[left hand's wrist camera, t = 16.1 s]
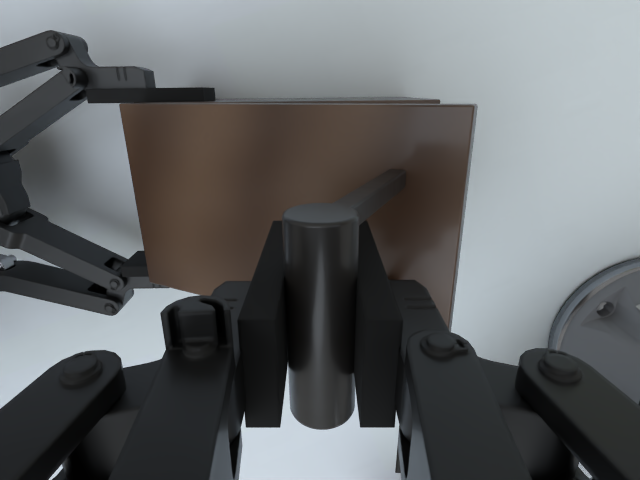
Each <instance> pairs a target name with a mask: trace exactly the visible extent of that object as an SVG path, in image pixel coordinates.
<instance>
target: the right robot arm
mask: <svg viewBox="0 0 640 480" xmlns="http://www.w3.org/2000/svg"><path fill="white" fill-rule="evenodd" d="M58 66H59V67H58ZM56 67H57V69H58V70H62V71H60V72H59V73H58V74H56V75H55V76H54V77H52V78H51V79H50V80H48V81H47V82H46V83H44V84H43V85H42V86H40V87H39V88H38V89H36V90H35V91H33V92H32V93H31V94H29V95H28V96H27V97H25V98H24V99H23V100H21V101H20V102H19V103H17V104H16V105H15V106H13V107H12V108H10V109H9V110H8V111H6V112H5V113H4V114H2V115H1V116H0V245H1V246H3V247H5V248H9V249H21V250H23V251H26V252H28V253H30V254H32V255H34V256H37V257H39V258H41V259H43V260H45V261H48V262H50V263H52V264H54V265H56V266H59V267H61V268H63V269H61V268H57V267H53V266H49V265H44V264H40V263H36V262H31V261H16V260H17V259H16V257H15V256H14V255H9V256H7V255H3V254H0V291H6V292H10V293H15V294H19V295H23V296H28V297H32V298H36V299H40V300H45V301H49V302H53V303H58V304H62V305H66V306H71V307H75V308H79V309H84V310H88V311H92V312H97V313H101V314H105V315H111V316H113V315H116V314H117V313H118V312H119V311H120V310H121V309H122V308H123V306H124V305H125V304H126V303H127V302H128V301H129V300H130V299H131V298H132V296H133V295H134V290H133V289H134V288H170V287H166V286H162V285H158V284H154V283H150V280H149V274H148V268H147V263H146V257H145V251H137V252H136V253H135V254H134V255H133V256H132V257H131V258H129V259H126V258H124V257H122V256H120V255H118V254H116V253H113V252H111V251H109V250H107V249H105V248H103V247H101V246H99V245H97V244H95V243H92V242H90V241H88V240H86V239H84V238H82V237H80V236H78V235H76V234H73V233H71V232H69V231H67V230H65V229H63V228H61V227H59V226H57V225H54V224H52V223H50V222H49V221H48V218H47V217H46V216H44V215H42V214H40V213H38V212H36V211H34V210H32V209H30V208H28V207H30V202H29V198H28V195H27V193H26V191H25V189H24V188H23V186H22V184H21V168H20V165H19V161H18V160H14V159H13V158H12V155H13V154H14V153H16V152H17V151H19V150H20V149H21V148H23V147H24V146H26V145H27V144H28V143H29V142H28V141H29V140H30V139H32V138H33V137H34V136H36V135H37V134H39V133H40V132H41V131H43V130H44V129H46V128H47V127H48V126H50V125H51V124H53V123H54V122H55V121H57V120H58V119H60V118H61V117H62V116H64V115H65V114H67V113H68V112H69V111H71V110H72V109H74V108H75V107H76V106H78V105H79V104H81V103H82V102H83V101H85V100H86V99H87V100H88V103H139V102H205V101H215V90H214V88H156V87H155V80H154V73H153V71H151V70H149V69H146V68H142V67H135V66H129V67H98V66H97V65H95V64H94V63H93V62H92V60H91V59H90V57H89V55H88V46H87V43H86V42H85V40H84V39H82V38H81V37H78V36H74V35H70V34H65V33H61V32H57V31H52V30H50V31H45V32H43V33H40V34H37V35H34V36H32V37H29V38H26V39H24V40H21V41H18V42H15V43H13V44H10V45H7V46H4V47H2V48H0V87H2V86H5V85H8V84H11V83H14V82H16V81H19V80H22V79H25V78H28V77H30V76H33V75H36V74H39V73H42V72H44V71H47V70H50V69H53V68H56Z"/></svg>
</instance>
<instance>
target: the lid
mask: <svg viewBox="0 0 640 480" xmlns="http://www.w3.org/2000/svg"><path fill="white" fill-rule="evenodd" d="M119 106H120V112H121V118H122V123H123V129H124V135H125V141H126V147H127V152H128V158H129V164H130V170H131V176H132V181H133V187H134V193H135V199H136V205H137V210H138V216H139V222H140V228H141V234H142V239H143V245H144V251H145V257H146V263H147V268H148V274H149V280H150V283H154V284H158V285H162V286H166V287H170V288H174V289H178V290H182V291H186V292H190V293H194V294H198V295H207V296H211V294H212V292H213V291H214V289H215V288H217V287H218V286H220V285H221V284H222V283H224V282H225V281H252V278H253V275H254V272H255V270H256V267H257V264H258V261H259V259H260V256H261V253H262V250H263V247H264V245H265V242H266V239H267V236H268V234H269V231H270V228H271V225H272V222H273V221H282V235H283V258H284V279H285V303H286V325H287V348H288V370H289V393H290V409H291V412H292V414H293V416H294V417H295V418H296V420H297V421H299V422H300V423H301V424H303V425H304V426H307V427H309V428H313V429H320V430H325V429H332V428H335V427H338V426H340V425H342V424H343V423H345V422H346V421H347V420H348V419H349V418H350V417H351V415H352V413H353V411H354V408H355V378H354V351H355V320H356V289H357V277H358V255H359V225H360V224H361V223H363V222H364V221H368V224H369V227H370V230H371V232H372V235H373V238H374V241H375V243H376V246H377V249H378V252H379V254H380V257H381V260H382V263H383V266H384V268H385V271H386V274H387V277H388V279H389V280H416V281H417V282H419V283H420V284H422V285H423V286H424V287H426V288H427V290H428V292H429V294H430V296H431V297H432V300H433V301H434V303H435V305H436V308H437V309H438V310H439V312H440V314H441V316H442V318H443V320H444V322H445V323H446V325H447V327H448V329H449V331H450V332H451V325H452V317H453V308H454V300H455V292H456V283H457V275H458V266H459V258H460V249H461V241H462V233H463V224H464V216H465V207H466V199H467V190H468V182H469V174H470V165H471V157H472V148H473V140H474V131H475V123H476V115H477V104H325V103H121V104H119Z"/></svg>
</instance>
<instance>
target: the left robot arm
mask: <svg viewBox="0 0 640 480" xmlns="http://www.w3.org/2000/svg"><path fill="white" fill-rule="evenodd" d="M161 320H162V326H163V333H164V339H165V345H166V351H165V353H164V355H163V358H162V359H160V360H157V361H154V362H150V363H146V364H141V365H136V366H131V367H126V368H123V367H122V362H121V358H120V357H119V356H118V355H117V354H116V353H114V352H110V351H106V350H94V351H86V352H81V353H78V354H75V355H73V356H71V357H68V358H66V359H63V360H61V361H60V362H58V363H57V364H55V365H54V366H52V367H51V368H49V369H48V370H47V371H46V372H44V373H43V374H42V375H41V376H40V377H38V378H37V379H36V380H35V381H34V382H32V383H31V384H30V385H29V386H28V387H26V388H25V389H24V390H23V391H22V392H20V393H19V394H18V395H17V396H15V397H14V398H13V399H12V400H11V401H9V402H8V403H7V404H6V405H5V406H3V407H2V408H1V409H0V480H48V479H49V478H50V477H51V476H52V475H53V474H54V472H55V471H56V470H57V469H58V468H59V467H60V465H61V464H62V466H63V469H62V470H61V471H60V472H59V473H58V475H57V476H56V477H54V478H53V479H52V480H239V471H240V462H241V453H242V437H241V424H242V420H243V416H244V411H245V422H246V427H280V425H281V416H282V408H283V399H284V391H285V382H286V374H287V365H288V348H287V325H286V303H285V279H284V258H283V235H282V221H273V222H272V225H271V228H270V231H269V234H268V236H267V239H266V242H265V245H264V247H263V250H262V253H261V256H260V259H259V261H258V264H257V267H256V270H255V272H254V275H253V278H252V281H225V282H224V283H222V284H221V285H220V286H218V287H217V288H215V289H214V291H213V292H212V294H211V296H207V295H200V296H192V297H187V298H184V299H181V300H177V301H175V302H173V303H172V304H170V305H168V306H166V308H165V309H164V310H163V311H162V312H161ZM354 378H355V387H356V395H357V404H358V412H359V421H360V427H395V415H396V412H397V416H398V420H399V424H400V425H399V437H398V448H397V460H396V471H395V473H401V480H640V258H639V259H634V260H630V261H626V262H623V263H620V264H618V265H615V266H613V267H611V268H608V269H607V270H605V271H603V272H601V273H599V274H597V275H596V276H594V277H593V278H591V279H590V280H588V281H587V282H586V283H585V284H583V285H582V286H581V287H580V288H579V289H578V290H577V291H576V292H575V293H573V294H572V296H571V297H570V298H569V299H568V300H567V301H566V303H565V304H564V306H563V307H562V308H561V310H560V312H559V313H558V315H557V317H556V319H555V321H554V324H553V326H552V329H551V333H550V337H549V349H541V348H535V349H532V350H528V351H525V352H524V353H523V354H522V355H521V356H520V360H519V365H518V366H514V365H509V364H504V363H499V362H494V361H490V360H486V359H482V358H480V357H478V356H477V355H476V352H475V350H474V348H473V347H472V346H471V344H470V343H469V342H468V341H467V340H465V339H464V338H462V337H461V336H459V335H457V334H454V333H451V332H450V331H449V329H448V327H447V325H446V323H445V322H444V320H443V318H442V316H441V314H440V312H439V310H438V309H437V308H436V305H435V303H434V301H433V300H432V297H431V296H430V294H429V292H428V290H427V288H426V287H424V286H423V285H422V284H420V283H419V282H417V281H416V280H389V279H388V277H387V274H386V271H385V268H384V266H383V263H382V260H381V257H380V254H379V252H378V249H377V246H376V243H375V241H374V238H373V235H372V232H371V230H370V227H369V224H368V221H364V222H363V223H361V224H360V225H359V255H358V277H357V289H356V320H355V351H354ZM579 462H580V463H581V464H582V465H583V466H584V468H585V469H586V470H587V471H588V472H589V473H590V475H591V476H592V478H590V479H589V478H588V477H587V476H586V475H585V474H584V473H583V472H582V471H581V469H580V468H579V467H578V464H579Z"/></svg>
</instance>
